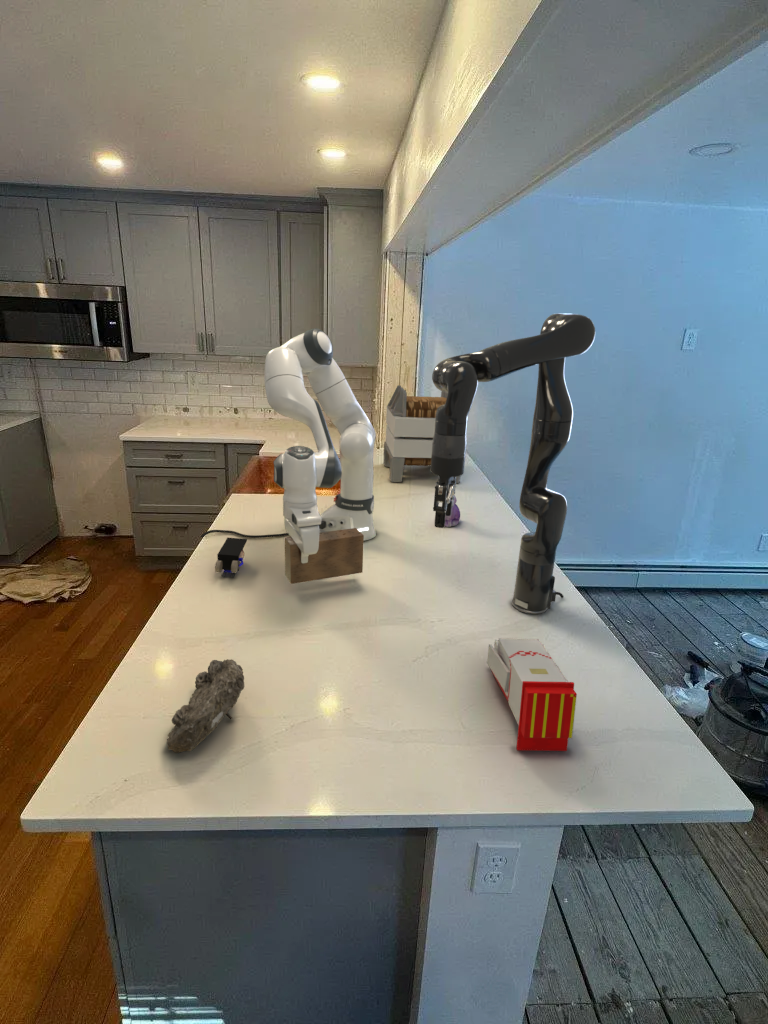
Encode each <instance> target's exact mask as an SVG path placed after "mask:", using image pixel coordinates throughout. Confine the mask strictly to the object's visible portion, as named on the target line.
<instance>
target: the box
mask: <svg viewBox="0 0 768 1024" xmlns="http://www.w3.org/2000/svg"><path fill="white" fill-rule="evenodd" d="M283 537H284V541H283V542H284V576H285V578H286V579H287V581H288V582H289V583H290V585H293V584H299V583H306V582H312V581H319V580H325V579H331V578H337V577H344V576H349V575H357V574H362V573H363V569H364V542H365V541H364V535H363V534H362V533H361V532H360V531H359V530H358V529H356V528H352V529H344V530H336V531H328V532H320V533H319V548H318V551H317V553H316V554H312V555H309V556H308V562H307V563H301V561H300V555H301V550H300V549H299V547H298V546H297V544H296V543H295V541H294V540H293V539H292V537H291V536H290V535H288V536H283Z"/></svg>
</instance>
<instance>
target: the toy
mask: <svg viewBox="0 0 768 1024" xmlns="http://www.w3.org/2000/svg"><path fill="white" fill-rule="evenodd" d="M486 664H487V666H488V667H489V668H490V671H491V672H492V675H493V676H494V679H495V680H496V683H497V684H498V686H499V688H500V690H501V692H502V694H503V695H504V697H505V699H506V701H507V704H508V706H509V708H510V711H511V712H512V715H513V717H514V719H515V722H516V724H517V726H518V728H517V729H518V730H517V741H516V751H535V752H536V751H541V752H544V751H545V752H546V751H547V752H548V751H549V752H550V751H551V752H552V751H553V752H567V751H568V743H569V739H573V731H574V722H575V714H576V706H577V705H576V704H577V697H578V696H577V695H578V694H577V692H576V690H575V682H574V681H569V680H568V679H567V677H566V676H565V675H564V673H563V672H562V670H561V669H560V668H559V666H558V665H557V663H556V662H555V660H554V659H553V657H552V656H551V655H550V653H549V651H547V649H546V646H545V644H543V643H542V641H541V640H540V639H539V638H513V637H512V638H511V637H509V638H508V637H507V638H506V637H498V639H494V645H493V644H488V650H487V657H486Z"/></svg>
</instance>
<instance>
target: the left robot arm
mask: <svg viewBox="0 0 768 1024" xmlns="http://www.w3.org/2000/svg"><path fill="white" fill-rule="evenodd" d="M333 357H334V345H333V343H332V341H331V338H330V337H329V335H328V334H327V333H326V332H325V331H324V330H322V329H320V328H311V329H307V330H305V332H303V333H300V334H297V335H295V336H294V337H292V338H289V339H288V340H287V341H286V342H284V343H283V344H282V345H280V346H277V347H274V348H272V349H271V350H269V351H268V352H267V354H266V356H265V361H264V369H263V370H264V372H263V373H264V374H263V375H264V379H263V380H264V389H265V396H266V400H267V404H268V405H269V406H270V408H272V410H273V411H274V412H276V413H277V414H279V415H281V416H283V417H286V418H289V419H293V420H295V421H298V422H300V423H302V424H304V425H306V426H307V427H308V428H309V429H310V431H311V434H312V437H313V440H314V444H315V446H316V449H317V451H314V450H313V449H312V448H310V447H308V446H304V445H293V446H290V447H288V448H287V449H285V450H284V452H283V453H280V454H279V455H277V457H276V458H275V459H274V460H273V482H274V484H276V485H277V486H278V487H280V488H281V489H283V495H282V516H283V517H284V518H283V528H284V530H285V531H286V532H285V533H273V534H260V535H259V534H258V535H253V534H245V533H244V534H243V533H240V532H237V531H234V530H229V529H228V530H227V529H210V530H207V531H205V532H204V533H203V534H202V535H200V538H204V537H206V536H207V535H208V534H213V533H222V534H233V535H236V536H239V537H241V538H245V539H264V538H265V539H266V538H277V537H278V538H279V537H288V536H291V537H292V539H293V540H294V541H295V543H296V544H297V546H298V547H299V549H300V550H301V555H300V561H301V563H307V562H308V556H309V555H312V554H316V553H317V551H318V548H319V533H320V532H328V531H336V530H344V529H352V528H356V529H358V530H359V531H360V532H361V533H362V534H363V535H364V542H365V541H368V540H372V539H373V538H375V537H376V535H377V532H376V528H375V523H374V513H373V512H374V509H375V496H374V448H375V444H376V443H375V442H376V438H377V437H376V436H377V435H376V434H377V433H376V430H375V428H374V426H373V424H372V422H371V420H370V419H369V418H368V415H367V414H366V412H365V411H364V409H363V408H362V406H361V405H360V404H359V401H358V400H357V397H356V396H355V394H354V392H353V389H352V388H351V385H350V384H349V382H348V381H347V378H346V376H345V374H344V373H343V370H342V369H341V368H340V366H339V365H338V363H337V361H336V360H335V359H334V358H333ZM305 376H306V377H307V380H308V383H309V385H310V386H311V389H312V391H313V393H314V395H315V397H316V398H317V400H316V399H314V398H313V397H311V395H310V394H309V393H308V391H307V389H306V386H305V380H304V377H305ZM323 412H324V413H323ZM324 414H325V415H324ZM325 416H326V417H327V418H328V419H329V421H330V422H331V423H332V425H333V426H334V427H335V429H336V430H337V432H338V433H339V435H340V437H339V446H338V447H339V448H338V449H339V456H338V453H337V451H336V449H335V447H334V446H335V445H334V443H333V441H332V437H331V434H330V430H329V428H328V424H327V422H326V418H325ZM339 482H340V488H339V489H340V490H339V491H338V492H337V494H336V495H335V496H334V497H333V502H334V504H333V505H331V506H329V507H328V508H326V509H325V510H323V512H321V514H320V511H319V507H318V495H317V493H316V489H317V488H319V489H320V488H322V489H323V488H324V489H331V488H333V487H335V486H336V485H337V484H338V483H339Z"/></svg>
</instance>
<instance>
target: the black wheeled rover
mask: <svg viewBox="0 0 768 1024" xmlns="http://www.w3.org/2000/svg"><path fill="white" fill-rule="evenodd" d="M247 542H248V538H242V537H241V538H240V537H226V539H225V541H224V543H223V544H222V546H221V547H220V549H219V551H218V552H217V560H216V562H215V564H214V572H215V573H221V577H222V578H224V577H225V576H226V574H227V573H230V574H231V573H232V574H231V578H234V577H235V575H236V573H237V572H239V571H240V567H242V566H243V565H244V564H245V562H244V558H245V551H244V547H245V546H246V544H247Z"/></svg>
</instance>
